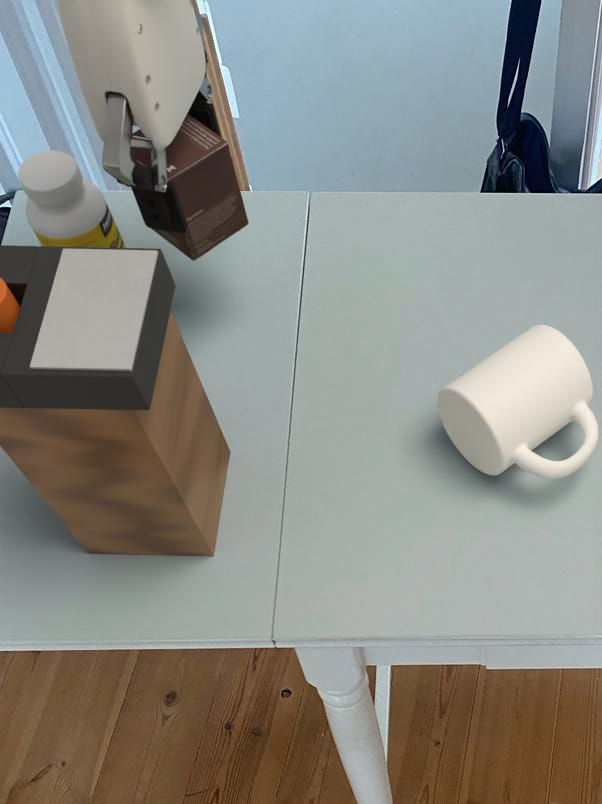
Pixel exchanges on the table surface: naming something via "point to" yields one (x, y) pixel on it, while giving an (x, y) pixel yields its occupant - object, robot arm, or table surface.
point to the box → (201, 187)
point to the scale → (84, 326)
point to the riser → (130, 464)
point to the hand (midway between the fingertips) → (186, 188)
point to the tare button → (7, 309)
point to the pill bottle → (65, 204)
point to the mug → (521, 405)
